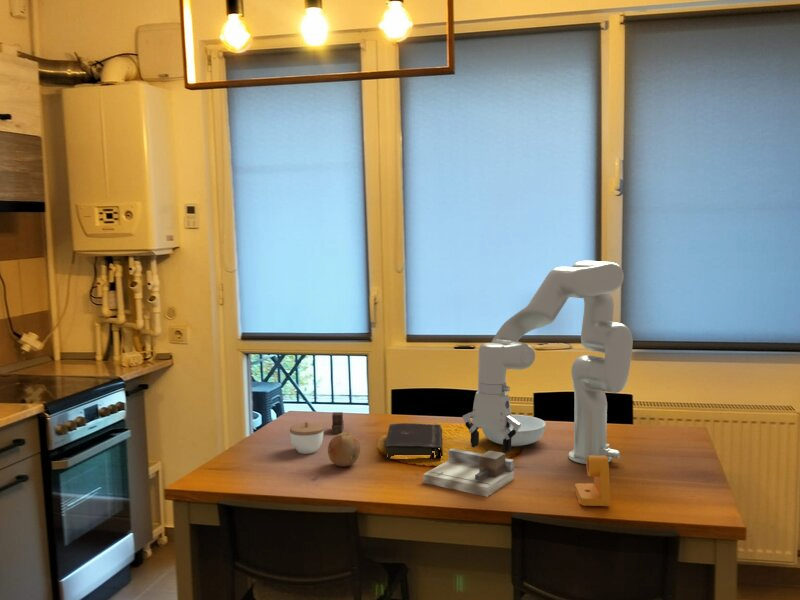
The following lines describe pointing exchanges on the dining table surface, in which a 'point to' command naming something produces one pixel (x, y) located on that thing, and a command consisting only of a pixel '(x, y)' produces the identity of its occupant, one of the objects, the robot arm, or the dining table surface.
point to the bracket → (595, 483)
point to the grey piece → (467, 474)
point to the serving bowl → (520, 431)
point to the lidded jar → (306, 437)
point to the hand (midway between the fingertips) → (490, 449)
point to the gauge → (491, 464)
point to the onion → (344, 449)
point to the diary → (413, 439)
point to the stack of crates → (337, 423)
